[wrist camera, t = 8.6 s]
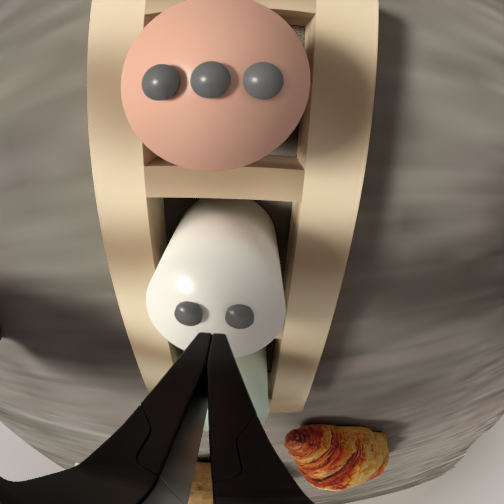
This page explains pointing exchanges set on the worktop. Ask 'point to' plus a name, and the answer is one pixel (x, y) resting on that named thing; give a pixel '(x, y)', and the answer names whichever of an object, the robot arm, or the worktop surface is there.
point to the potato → (201, 485)
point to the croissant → (337, 454)
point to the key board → (241, 181)
